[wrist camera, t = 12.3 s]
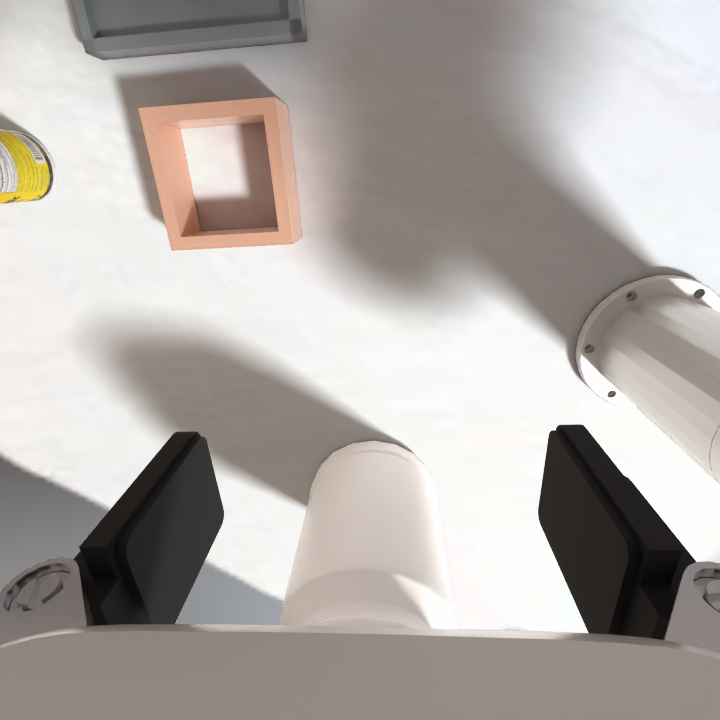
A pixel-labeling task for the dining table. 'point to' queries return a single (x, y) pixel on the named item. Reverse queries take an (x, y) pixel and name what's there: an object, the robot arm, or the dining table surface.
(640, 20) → the dining table surface
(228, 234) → the orange open frame
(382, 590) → the bottle
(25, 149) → the supplement bottle
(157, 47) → the tray
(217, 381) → the dining table surface
